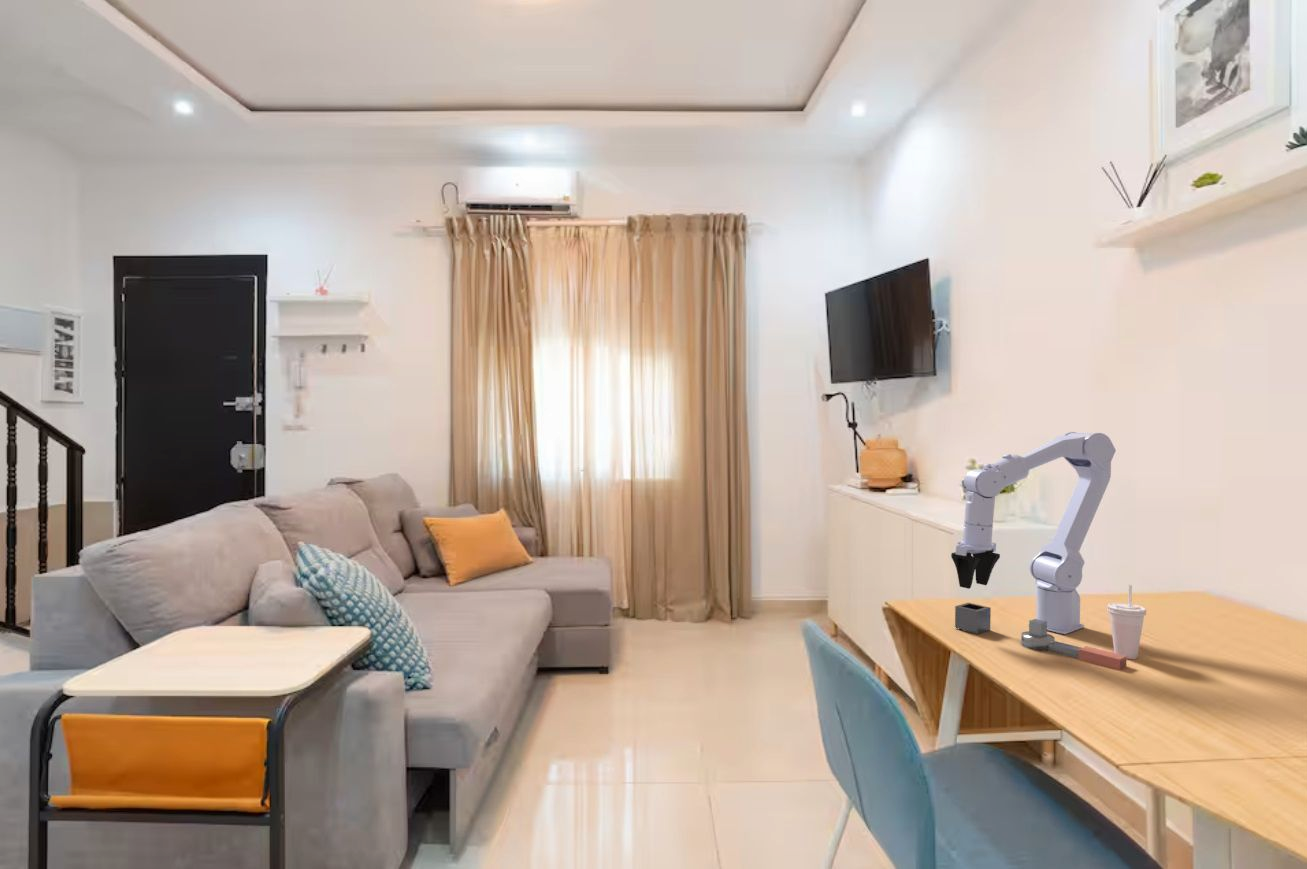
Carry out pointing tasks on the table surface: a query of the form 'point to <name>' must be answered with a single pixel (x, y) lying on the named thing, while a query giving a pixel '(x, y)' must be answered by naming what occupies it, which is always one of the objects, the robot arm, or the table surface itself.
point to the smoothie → (1126, 626)
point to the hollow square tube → (972, 617)
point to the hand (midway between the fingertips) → (973, 585)
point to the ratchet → (1068, 647)
